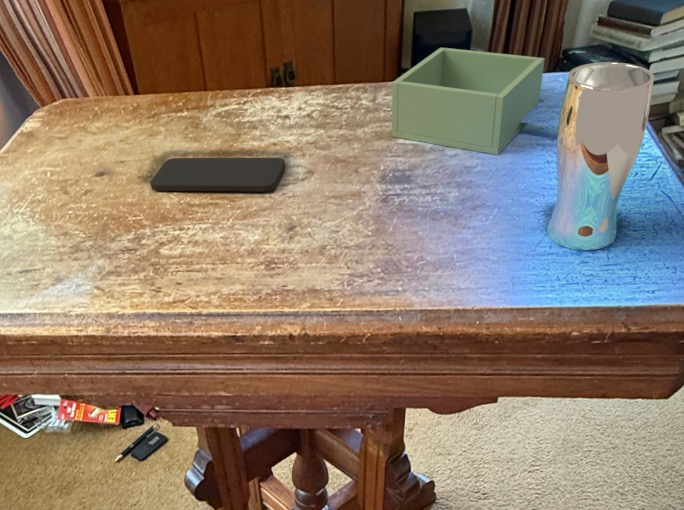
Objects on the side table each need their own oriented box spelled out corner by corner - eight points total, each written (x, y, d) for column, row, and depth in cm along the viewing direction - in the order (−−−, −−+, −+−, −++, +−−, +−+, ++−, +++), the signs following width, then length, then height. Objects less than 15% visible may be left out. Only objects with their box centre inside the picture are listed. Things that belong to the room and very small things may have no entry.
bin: (537, 112, 91) (544, 58, 87) (497, 155, 83) (503, 97, 78) (438, 98, 98) (440, 47, 93) (391, 136, 89) (391, 82, 85)
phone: (167, 157, 88) (286, 157, 85) (169, 163, 89) (287, 163, 85) (146, 185, 83) (273, 186, 79) (148, 192, 83) (274, 193, 80)
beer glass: (540, 250, 66) (565, 89, 57) (543, 213, 72) (566, 60, 62) (622, 256, 64) (661, 91, 55) (618, 218, 70) (654, 61, 60)
